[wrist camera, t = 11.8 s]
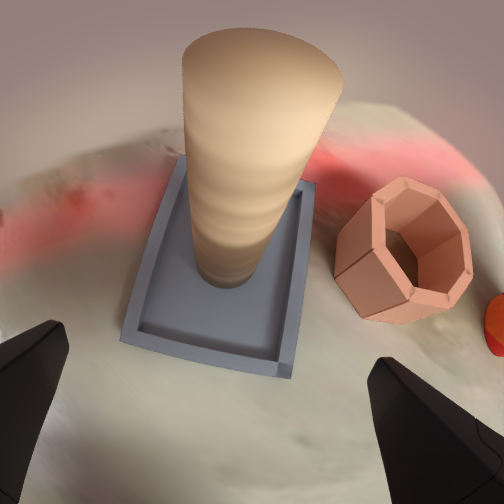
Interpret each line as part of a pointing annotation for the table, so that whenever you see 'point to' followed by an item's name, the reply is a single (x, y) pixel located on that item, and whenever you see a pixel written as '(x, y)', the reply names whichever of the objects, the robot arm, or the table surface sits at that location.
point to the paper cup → (495, 325)
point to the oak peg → (248, 140)
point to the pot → (421, 244)
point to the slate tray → (221, 291)
